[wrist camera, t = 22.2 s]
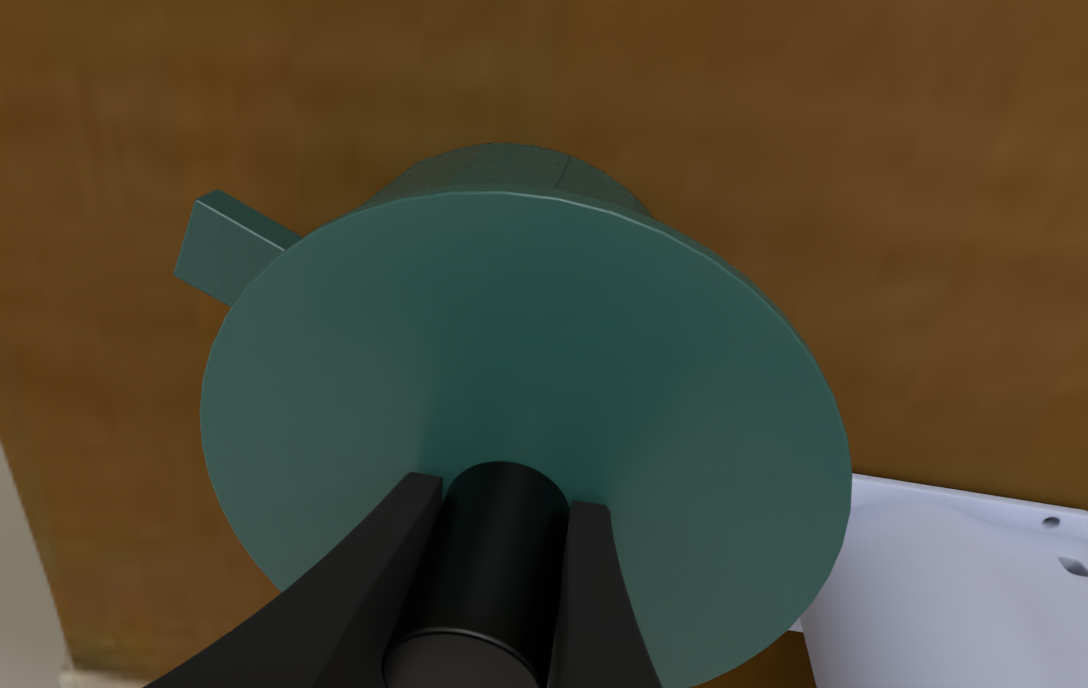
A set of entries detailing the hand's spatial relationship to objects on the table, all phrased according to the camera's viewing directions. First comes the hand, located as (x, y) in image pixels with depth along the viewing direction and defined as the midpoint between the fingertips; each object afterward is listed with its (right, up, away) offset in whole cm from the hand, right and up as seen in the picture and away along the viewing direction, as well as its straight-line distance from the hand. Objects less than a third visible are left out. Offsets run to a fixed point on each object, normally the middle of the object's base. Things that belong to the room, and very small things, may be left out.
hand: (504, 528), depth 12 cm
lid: (0, +1, +1) cm, 1 cm away
